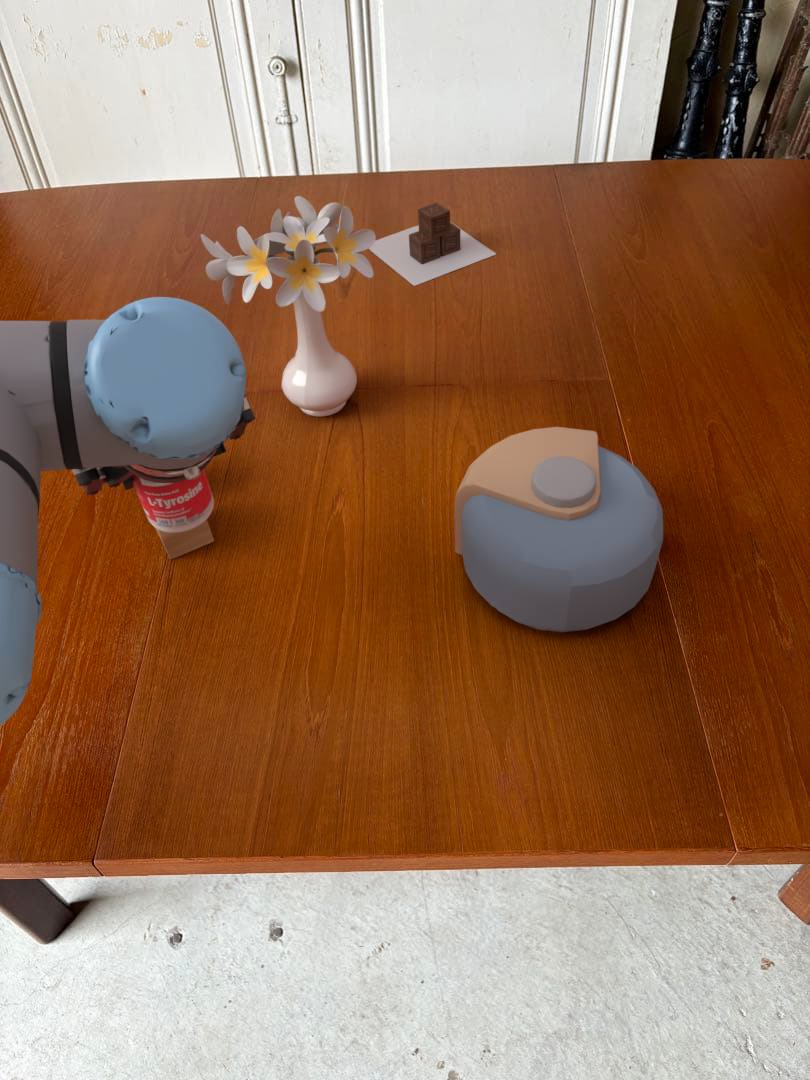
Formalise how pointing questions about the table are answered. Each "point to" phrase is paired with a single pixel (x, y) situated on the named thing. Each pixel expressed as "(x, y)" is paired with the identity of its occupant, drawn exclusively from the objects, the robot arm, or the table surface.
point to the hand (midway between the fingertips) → (160, 461)
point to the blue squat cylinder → (557, 529)
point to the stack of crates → (430, 247)
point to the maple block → (186, 540)
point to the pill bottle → (175, 502)
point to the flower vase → (302, 293)
